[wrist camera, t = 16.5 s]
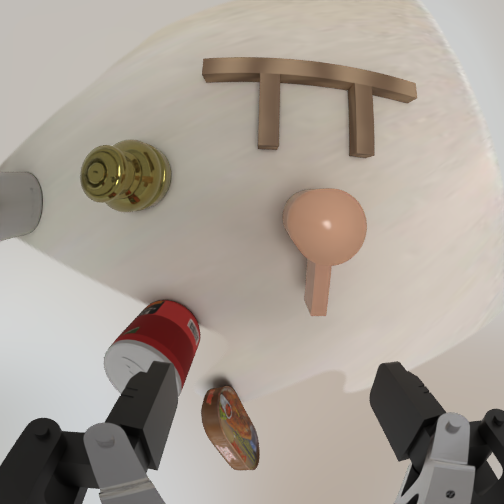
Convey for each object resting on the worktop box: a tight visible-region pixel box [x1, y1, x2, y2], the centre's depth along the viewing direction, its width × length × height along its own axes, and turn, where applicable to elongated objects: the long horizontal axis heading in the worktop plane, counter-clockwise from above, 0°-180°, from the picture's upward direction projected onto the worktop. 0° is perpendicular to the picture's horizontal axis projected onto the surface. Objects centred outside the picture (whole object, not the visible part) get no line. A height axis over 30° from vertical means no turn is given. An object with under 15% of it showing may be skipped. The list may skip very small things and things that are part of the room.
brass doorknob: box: [80, 140, 171, 212], centre depth 24 cm, size 7×7×10 cm
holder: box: [202, 57, 417, 158], centre depth 26 cm, size 24×10×2 cm, turn 88°
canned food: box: [104, 300, 200, 396], centre depth 27 cm, size 8×8×11 cm
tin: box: [201, 386, 259, 470], centre depth 31 cm, size 15×3×8 cm, turn 19°
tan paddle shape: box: [283, 189, 367, 316], centre depth 26 cm, size 11×6×9 cm, turn 179°
